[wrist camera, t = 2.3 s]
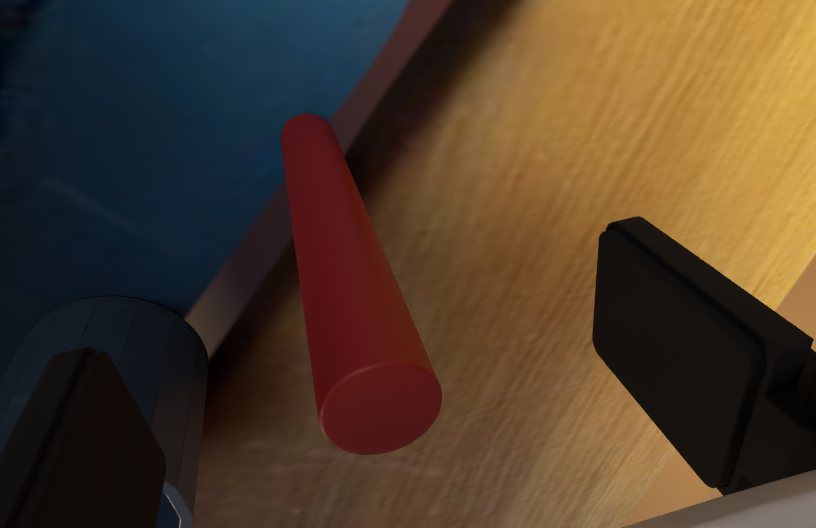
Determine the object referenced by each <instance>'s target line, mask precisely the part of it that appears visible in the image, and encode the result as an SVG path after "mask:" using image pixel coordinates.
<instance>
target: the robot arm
mask: <svg viewBox="0 0 816 528" xmlns="http://www.w3.org/2000/svg"><path fill="white" fill-rule="evenodd" d="M592 339H593V344H594V347H595V350H596V352H597V353H598V355H599V356H600V357H601V359H602V360H603V361H604V362H605V364H606V365H607V366H608V367H609V368H610V370H611V371H612V372H613V373H614V374H615V376H616V377H617V378H618V379H619V381H620V382H621V383H622V384H623V385H624V387H625V388H626V389H627V390H628V391H629V393H630V394H631V395H632V396H633V398H634V399H635V400H636V401H637V402H638V404H639V405H640V406H641V407H642V408H643V410H644V411H645V412H646V413H647V415H648V416H649V417H650V418H651V419H652V421H653V422H654V423H655V424H656V425H657V427H658V428H659V429H660V430H661V431H662V433H663V434H664V435H665V436H666V438H667V439H668V440H669V441H670V442H671V444H672V445H673V446H674V447H675V448H676V450H677V451H678V452H679V453H680V455H681V456H682V457H683V458H684V459H685V461H686V462H687V463H688V464H689V465H690V467H691V468H692V469H693V470H694V472H695V473H696V474H697V475H698V476H699V478H700V479H701V480H702V481H703V482H704V483H705V484H706V485H707V486H709V487H711V488H717V489H718V490H719V491H720V492H721V494H722V495H723V496H722V497H719V498H715V499H712V500H709V501H706V502H703V503H700V504H696V505H693V506H690V507H687V508H684V509H680V510H677V511H674V512H670V513H667V514H664V515H661V516H657V517H654V518H651V519H648V520H644V521H641V522H638V523H635V524H632V525H629V526H625V527H622V528H816V352H815V351H814V350H812V349H811V346H812V343H813V340H814V339H813V338H811V337H810V336H808V335H807V334H805V333H804V332H803V331H801V330H800V329H798V328H797V327H796V326H794V325H793V324H792V323H790V322H789V321H787V320H786V319H784V318H783V317H781V316H780V315H779V314H778V313H776V312H775V311H773V310H772V309H770V308H769V307H768V306H766V305H765V304H763V303H762V302H761V301H759V300H758V299H756V298H755V297H754V296H752V295H751V294H749V293H748V292H747V291H745V290H744V289H742V288H741V287H739V286H738V285H737V284H735V283H734V282H732V281H731V280H730V279H728V278H727V277H725V276H724V275H723V274H721V273H720V272H718V271H717V270H716V269H714V268H713V267H711V266H710V265H709V264H707V263H706V262H704V261H703V260H701V259H700V258H699V257H697V256H696V255H694V254H693V253H692V252H690V251H689V250H687V249H686V248H685V247H683V246H682V245H680V244H679V243H678V242H676V241H675V240H673V239H672V238H671V237H669V236H668V235H666V234H665V233H663V232H662V231H661V230H659V229H658V228H656V227H655V226H654V225H652V224H651V223H649V222H648V221H647V220H645V219H644V218H642V217H640V216H639V217H632V218H628V219H624V220H620V221H615V222H611V223H610V224H608V226H607V228H606V231H605V232H602V233H601V235H600V237H599V246H598V261H597V276H596V290H595V305H594V320H593V335H592ZM165 475H166V459H165V455H164V452H163V450H162V448H161V446H160V445H159V443H158V441H157V439H156V437H155V436H154V434H153V432H152V430H151V429H150V427H149V425H148V423H147V421H146V420H145V418H144V416H143V414H142V413H141V411H140V409H139V407H138V405H137V404H136V402H135V400H134V398H133V396H132V395H131V393H130V391H129V389H128V388H127V386H126V384H125V382H124V380H123V379H122V377H121V375H120V373H119V372H118V370H117V368H116V366H115V364H114V363H113V361H112V359H111V357H110V356H109V355H108V354H107V353H106V352H99V353H98V352H97V351H96V350H95V349H94V348H93V347H89V346H88V347H84V348H80V349H76V350H71V351H67V352H63V353H59V354H55V355H53V356H52V357H51V358H50V360H49V361H48V363H47V365H46V367H45V369H44V371H43V373H42V375H41V377H40V379H39V381H38V383H37V385H36V387H35V388H34V390H33V392H32V394H31V396H30V398H29V400H28V402H27V404H26V406H25V408H24V410H23V412H22V414H21V415H20V417H19V419H18V421H17V423H16V425H15V427H14V429H13V431H12V433H11V435H10V437H9V439H8V441H7V442H6V444H5V446H4V448H3V450H2V452H1V454H0V528H156V523H157V518H158V513H159V507H160V502H161V496H162V491H163V486H164V480H165Z"/></svg>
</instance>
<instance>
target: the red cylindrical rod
mask: <svg viewBox="0 0 816 528" xmlns="http://www.w3.org/2000/svg"><path fill="white" fill-rule="evenodd" d="M281 148H282V156H283V163H284V170H285V178H286V184H287V192H288V200H289V207H290V214H291V221H292V228H293V236H294V243H295V251H296V258H297V265H298V273H299V280H300V287H301V295H302V302H303V309H304V317H305V324H306V331H307V339H308V346H309V353H310V360H311V368H312V375H313V382H314V390H315V397H316V404H317V412H318V419H319V424H320V427H321V430H322V432H323V433H324V435H325V436H326V438H327V439H328V440H329V441H330V442H331V443H332V444H334V445H335V446H336V447H338V448H340V449H342V450H345V451H347V452H351V453H355V454H363V455H373V454H381V453H386V452H391V451H394V450H397V449H399V448H402V447H404V446H406V445H408V444H410V443H412V442H413V441H415V440H416V439H418V438H419V437H420V436H422V435H423V434H424V433H425V432H426V431H427V430H428V429H429V428H430V427H431V425H432V424H433V423H434V421H435V420H436V418H437V416H438V414H439V411H440V408H441V403H442V390H441V386H440V384H439V381H438V379H437V377H436V374H435V372H434V369H433V367H432V365H431V362H430V360H429V358H428V355H427V353H426V350H425V348H424V346H423V343H422V341H421V339H420V336H419V334H418V331H417V329H416V327H415V324H414V322H413V320H412V317H411V315H410V312H409V310H408V308H407V305H406V303H405V301H404V298H403V296H402V293H401V291H400V289H399V286H398V284H397V282H396V279H395V277H394V274H393V272H392V270H391V267H390V265H389V263H388V260H387V258H386V255H385V253H384V251H383V248H382V246H381V244H380V241H379V239H378V236H377V234H376V232H375V229H374V227H373V225H372V222H371V220H370V217H369V215H368V213H367V210H366V208H365V206H364V203H363V201H362V198H361V196H360V194H359V191H358V189H357V187H356V184H355V182H354V179H353V177H352V175H351V172H350V170H349V168H348V165H347V163H346V160H345V158H344V156H343V153H342V151H341V149H340V146H339V144H338V142H337V139H336V137H335V134H334V132H333V130H332V128H331V126H330V125H329V123H328V122H327V121H326V120H324V119H323V118H322V117H320V116H317V115H314V114H300V115H297V116H295V117H293V118H291V119H290V120H289V121H288V122H287V123H286V124H285V126H284V128H283V130H282V132H281Z"/></svg>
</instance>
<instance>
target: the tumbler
mask: <svg viewBox="0 0 816 528" xmlns="http://www.w3.org/2000/svg"><path fill="white" fill-rule="evenodd" d="M88 346H89V347H93V348H94V349H95V350H96V351H97V352H98V353H99V352H106V353H107V354H108V355H109V356H110V357H111V359H112V361H113V363H114V364H115V366H116V368H117V370H118V372H119V373H120V375H121V377H122V379H123V380H124V382H125V384H126V386H127V388H128V389H129V391H130V393H131V395H132V396H133V398H134V400H135V402H136V404H137V405H138V407H139V409H140V411H141V413H142V414H143V416H144V418H145V420H146V421H147V423H148V425H149V427H150V429H151V430H152V432H153V434H154V436H155V437H156V439H157V441H158V443H159V445H160V446H161V448H162V450H163V452H164V455H165V459H166V475H165V480H164V486H163V491H162V496H161V502H160V507H159V513H158V518H157V523H156V528H192V523H193V514H194V505H195V495H196V485H197V476H198V466H199V457H200V447H201V437H202V428H203V418H204V409H205V399H206V389H207V380H208V370H209V361H208V355H207V351H206V349H205V345H204V344H203V342H202V340H201V338H200V336H199V335H198V334H197V332H196V331H195V330H194V329H193V328H192V327H191V326H190V325H189V324H188V323H187V322H186V321H185V320H184V319H182V318H181V317H180V316H179V315H177V314H175V313H174V312H172V311H170V310H168V309H166V308H164V307H162V306H160V305H157V304H154V303H151V302H148V301H145V300H141V299H136V298H130V297H122V296H100V297H91V298H85V299H80V300H77V301H74V302H70V303H68V304H65V305H63V306H60V307H58V308H56V309H54V310H53V311H51V312H49V313H48V314H46V315H45V316H44V317H42V318H41V319H40V320H39V321H38V322H37V323H36V324H35V325H34V326H33V327H32V328H31V329H30V331H29V332H28V333H27V335H26V336H25V338H24V340H23V341H22V343H21V345H20V347H19V348H18V350H17V352H16V354H15V355H14V357H13V359H12V361H11V362H10V364H9V366H8V368H7V369H6V371H5V373H4V374H3V376H2V378H1V380H0V454H1V452H2V450H3V448H4V446H5V444H6V442H7V441H8V439H9V437H10V435H11V433H12V431H13V429H14V427H15V425H16V423H17V421H18V419H19V417H20V415H21V414H22V412H23V410H24V408H25V406H26V404H27V402H28V400H29V398H30V396H31V394H32V392H33V390H34V388H35V387H36V385H37V383H38V381H39V379H40V377H41V375H42V373H43V371H44V369H45V367H46V365H47V363H48V361H49V360H50V358H51V357H52V356H53V355H55V354H59V353H63V352H67V351H71V350H76V349H80V348H84V347H88Z"/></svg>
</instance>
